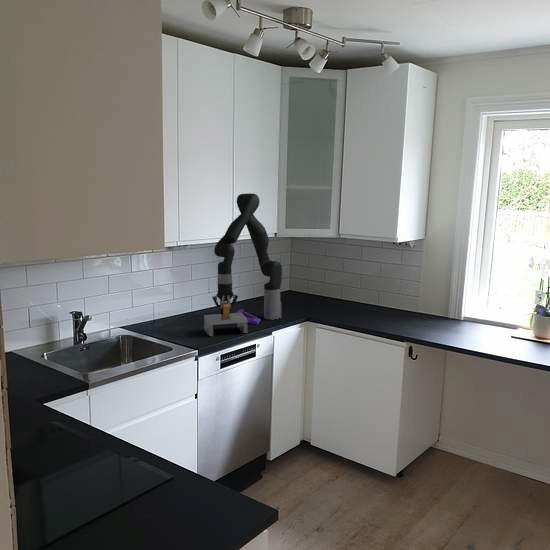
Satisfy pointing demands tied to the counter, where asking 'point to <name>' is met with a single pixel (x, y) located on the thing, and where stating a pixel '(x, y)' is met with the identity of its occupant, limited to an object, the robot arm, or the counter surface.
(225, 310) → the orange rectangular block
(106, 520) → the counter surface
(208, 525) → the counter surface
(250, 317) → the bracket
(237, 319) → the grey slotted platform
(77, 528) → the counter surface
